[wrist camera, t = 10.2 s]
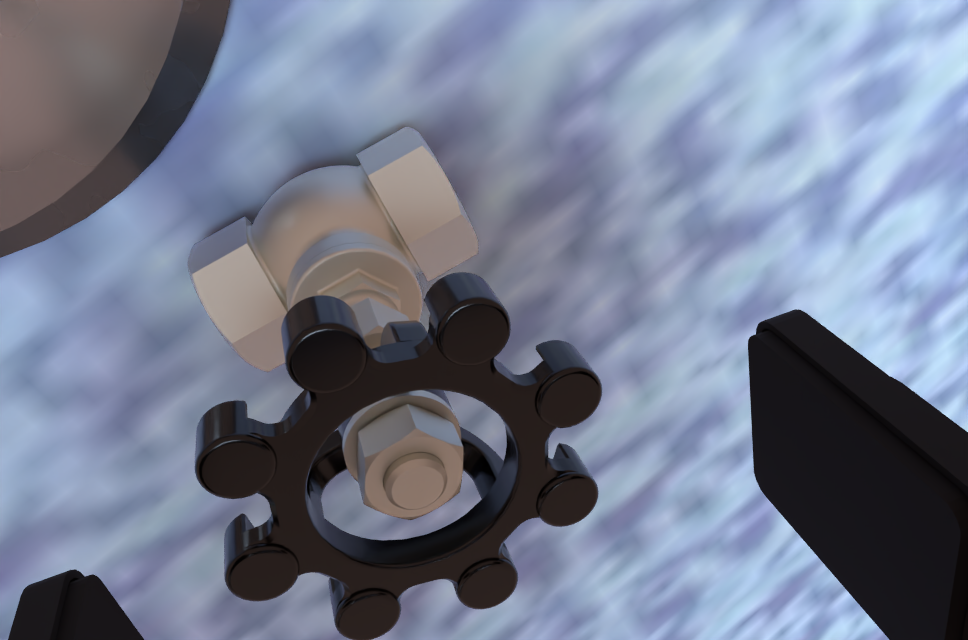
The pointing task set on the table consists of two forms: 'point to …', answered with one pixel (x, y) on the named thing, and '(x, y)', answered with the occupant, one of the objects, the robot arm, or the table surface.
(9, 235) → the plinth
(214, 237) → the valve
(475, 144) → the table surface
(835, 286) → the table surface
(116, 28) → the handwheel
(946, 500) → the robot arm
